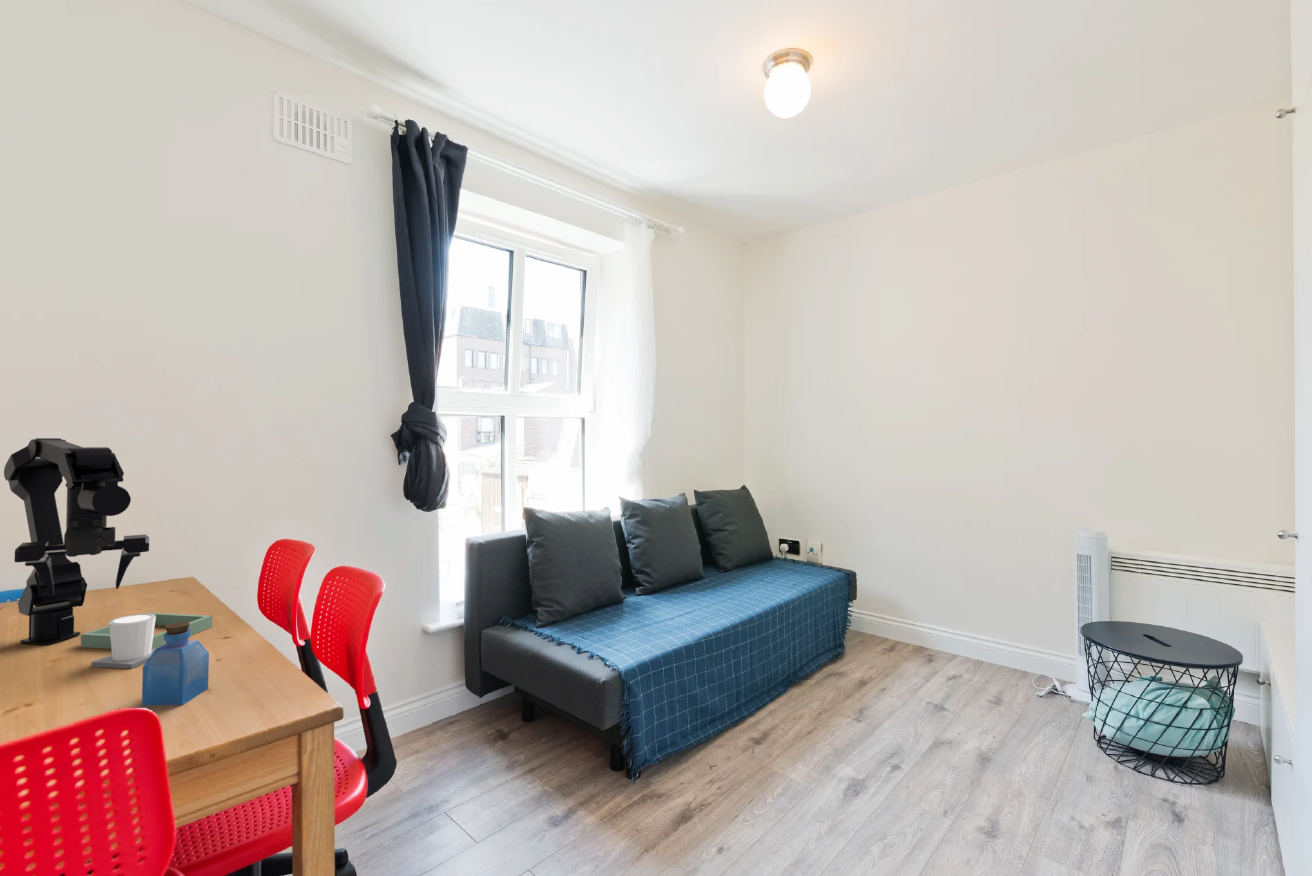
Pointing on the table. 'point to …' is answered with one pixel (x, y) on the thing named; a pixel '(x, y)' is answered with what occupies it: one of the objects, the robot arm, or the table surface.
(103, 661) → the slate tile
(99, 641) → the green tray
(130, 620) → the white cup
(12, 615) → the table surface
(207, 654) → the perfume bottle
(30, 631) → the robot arm
